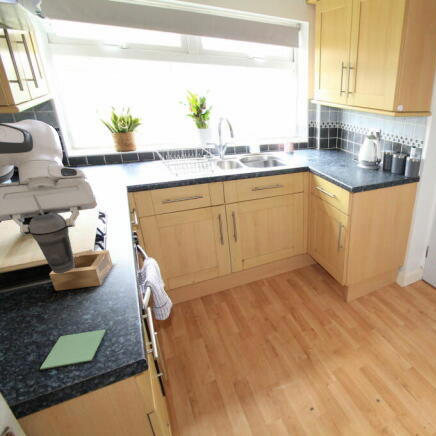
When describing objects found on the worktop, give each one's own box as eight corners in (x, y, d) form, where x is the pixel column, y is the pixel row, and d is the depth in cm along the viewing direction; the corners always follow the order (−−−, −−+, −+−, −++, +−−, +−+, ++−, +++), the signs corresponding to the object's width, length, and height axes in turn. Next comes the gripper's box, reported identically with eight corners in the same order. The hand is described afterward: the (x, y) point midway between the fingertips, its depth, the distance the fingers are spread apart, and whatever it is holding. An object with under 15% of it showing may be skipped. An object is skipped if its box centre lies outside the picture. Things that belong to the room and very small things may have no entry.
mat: (40, 369, 71) (39, 368, 71) (60, 337, 80) (60, 336, 80) (91, 360, 74) (91, 359, 74) (106, 330, 83) (105, 329, 82)
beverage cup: (59, 279, 78) (30, 203, 69) (38, 272, 80) (8, 198, 71) (88, 264, 84) (64, 192, 76) (68, 258, 86) (43, 188, 78)
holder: (55, 290, 97) (49, 274, 94) (72, 269, 107) (67, 254, 105) (100, 285, 100) (95, 269, 97) (112, 265, 110) (108, 250, 108)
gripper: (-20, 178, 73) (-17, 233, 69) (88, 168, 82) (96, 217, 79) (-6, 191, 78) (-3, 243, 74) (94, 180, 88) (102, 226, 84)
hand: (49, 229), depth 77 cm, fingers closed on beverage cup, 7 cm apart
